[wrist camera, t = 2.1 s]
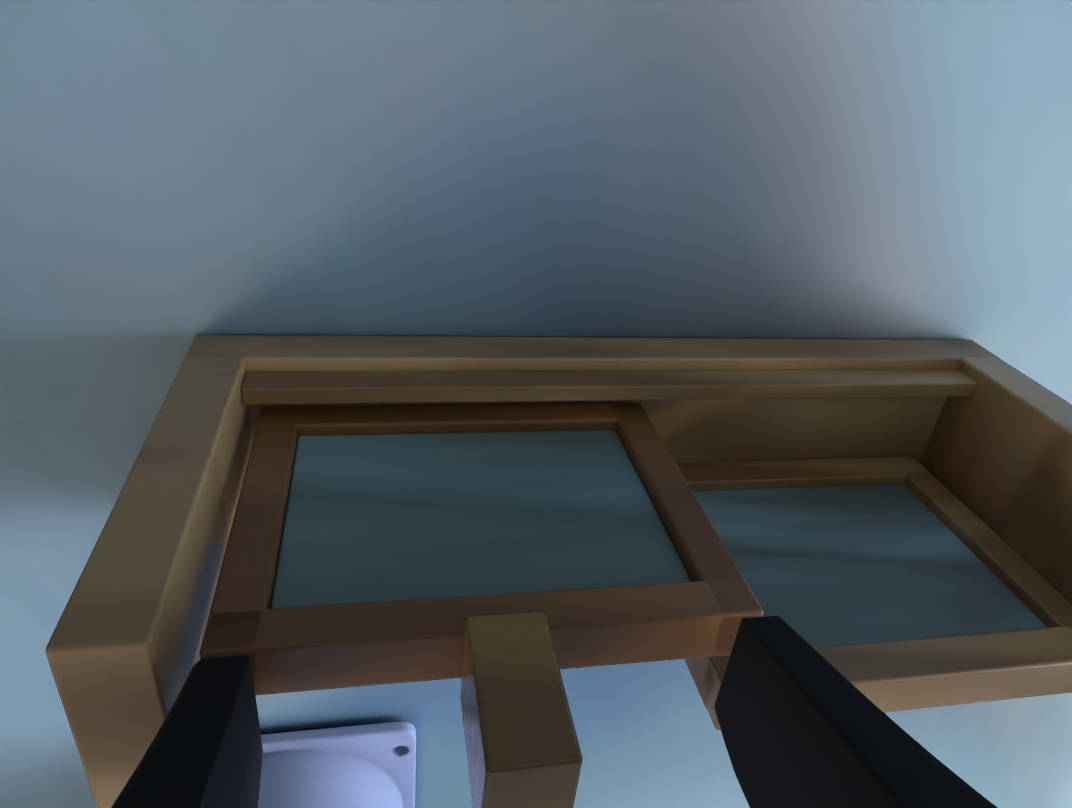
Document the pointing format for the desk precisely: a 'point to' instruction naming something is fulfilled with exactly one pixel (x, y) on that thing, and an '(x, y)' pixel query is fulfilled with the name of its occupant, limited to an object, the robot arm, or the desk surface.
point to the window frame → (707, 465)
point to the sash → (472, 567)
